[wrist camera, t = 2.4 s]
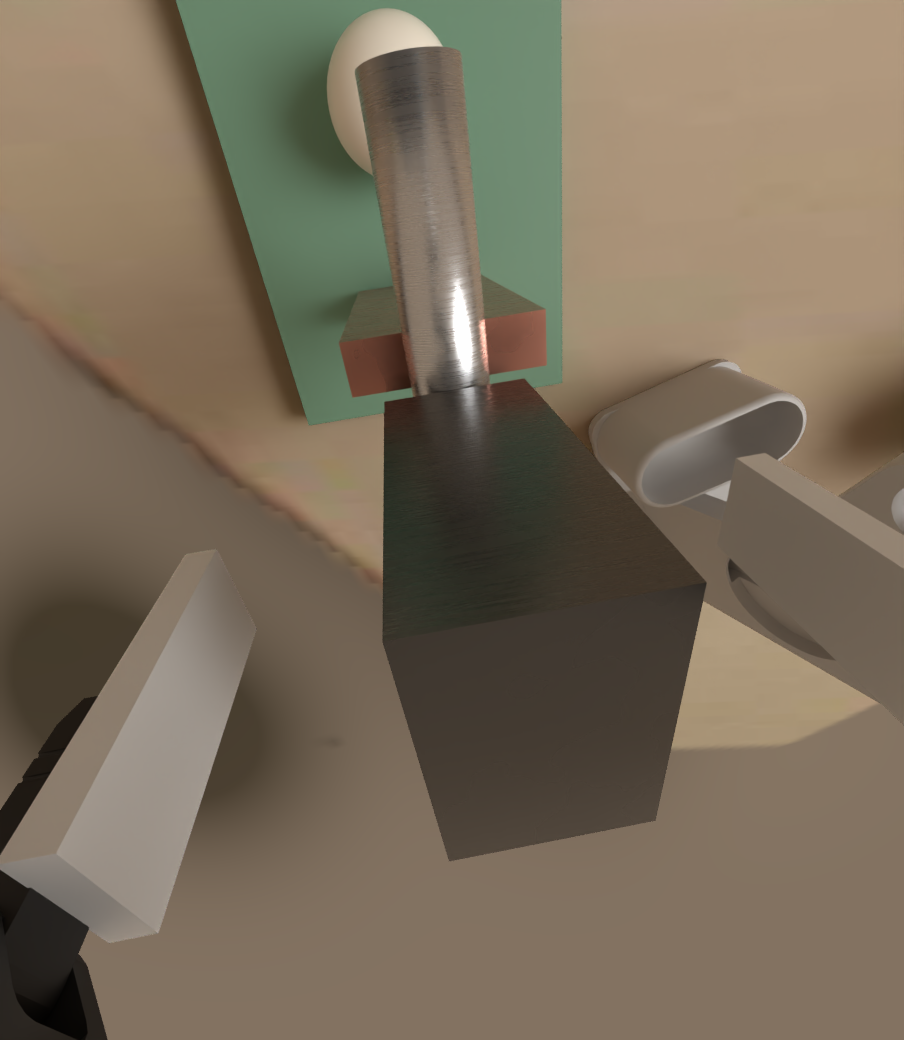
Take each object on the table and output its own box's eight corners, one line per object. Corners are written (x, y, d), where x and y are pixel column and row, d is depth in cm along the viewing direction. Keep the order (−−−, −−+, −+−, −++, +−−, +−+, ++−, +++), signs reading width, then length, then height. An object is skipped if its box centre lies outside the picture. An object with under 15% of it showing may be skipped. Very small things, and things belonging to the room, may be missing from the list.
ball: (352, 6, 19) (342, -58, 14) (467, 75, 20) (489, 36, 16) (320, 153, 21) (303, 136, 17) (426, 206, 22) (435, 202, 18)
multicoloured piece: (328, 153, 20) (-263, -581, 2) (464, 132, 21) (1209, -721, 2) (389, 431, 27) (397, 871, 9) (490, 414, 28) (706, 810, 9)
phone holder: (582, 413, 31) (775, 600, 15) (735, 344, 29) (1108, 472, 14) (634, 592, 40) (788, 818, 25) (753, 545, 38) (991, 753, 23)
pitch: (-50, -768, 12) (-335, -1416, 7) (541, -821, 12) (635, -1462, 8) (312, 416, 28) (298, 453, 24) (554, 376, 29) (586, 405, 24)
